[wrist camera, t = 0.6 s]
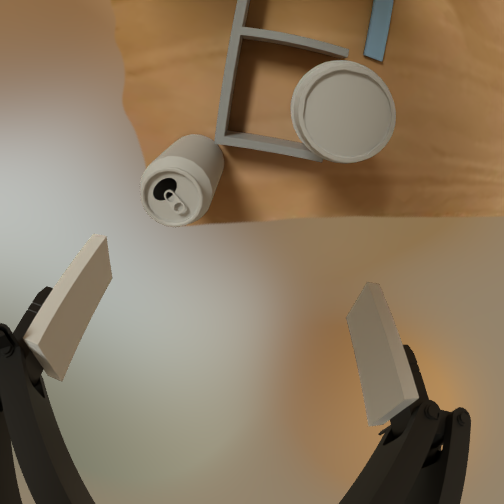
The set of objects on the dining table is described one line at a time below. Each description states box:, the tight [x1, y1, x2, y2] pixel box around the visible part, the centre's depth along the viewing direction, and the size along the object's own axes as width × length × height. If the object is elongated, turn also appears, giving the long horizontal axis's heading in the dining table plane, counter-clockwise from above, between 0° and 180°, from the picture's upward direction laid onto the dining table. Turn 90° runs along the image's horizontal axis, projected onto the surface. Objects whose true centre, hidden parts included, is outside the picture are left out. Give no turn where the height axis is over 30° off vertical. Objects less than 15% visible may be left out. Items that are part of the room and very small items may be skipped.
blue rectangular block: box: [363, 0, 393, 61], centre depth 22 cm, size 11×2×1 cm, turn 171°
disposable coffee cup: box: [291, 60, 396, 163], centre depth 25 cm, size 10×10×12 cm
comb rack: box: [214, 0, 349, 162], centre depth 24 cm, size 27×12×4 cm, turn 171°
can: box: [140, 134, 224, 227], centre depth 30 cm, size 8×8×12 cm
